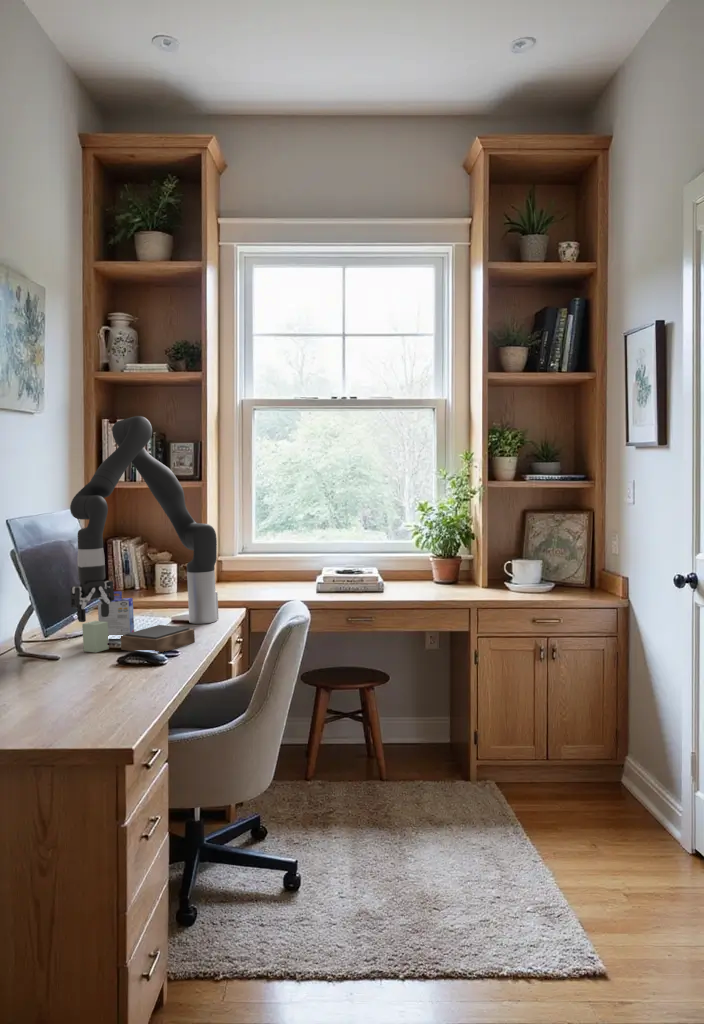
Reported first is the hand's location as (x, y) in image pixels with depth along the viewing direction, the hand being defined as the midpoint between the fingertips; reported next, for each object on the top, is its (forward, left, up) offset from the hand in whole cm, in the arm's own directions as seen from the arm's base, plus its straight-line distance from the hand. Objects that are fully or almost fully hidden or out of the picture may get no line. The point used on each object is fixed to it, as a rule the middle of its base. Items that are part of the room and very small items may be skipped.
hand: (93, 619), depth 240 cm
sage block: (0, 0, -9) cm, 9 cm away
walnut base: (-11, +14, -9) cm, 20 cm away
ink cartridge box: (-14, -6, -9) cm, 18 cm away
